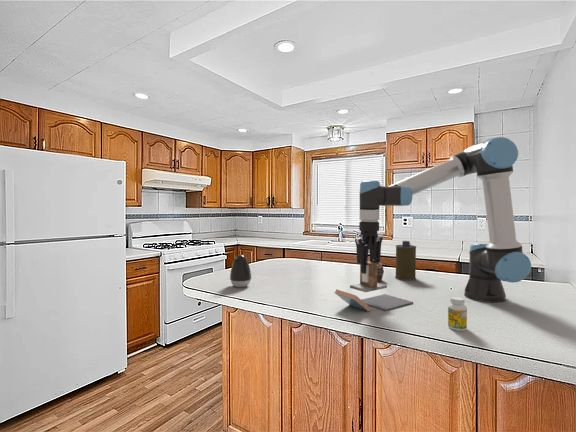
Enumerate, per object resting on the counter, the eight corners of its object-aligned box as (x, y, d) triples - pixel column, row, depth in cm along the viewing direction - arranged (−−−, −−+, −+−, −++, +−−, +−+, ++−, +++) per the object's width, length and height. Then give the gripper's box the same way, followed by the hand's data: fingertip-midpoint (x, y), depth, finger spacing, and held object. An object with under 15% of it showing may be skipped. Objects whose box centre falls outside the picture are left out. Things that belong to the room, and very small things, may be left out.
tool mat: (413, 303, 132) (413, 301, 132) (385, 311, 123) (385, 309, 123) (384, 295, 144) (384, 294, 144) (357, 301, 134) (357, 300, 134)
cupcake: (368, 277, 179) (369, 259, 179) (386, 280, 173) (386, 261, 173) (361, 280, 171) (361, 261, 171) (379, 283, 166) (380, 263, 165)
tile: (370, 307, 123) (355, 295, 118) (369, 311, 122) (353, 299, 117) (351, 301, 131) (336, 289, 126) (349, 305, 130) (334, 293, 126)
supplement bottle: (470, 329, 105) (471, 299, 104) (458, 332, 102) (459, 301, 102) (455, 324, 109) (456, 295, 109) (444, 326, 107) (444, 297, 107)
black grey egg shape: (225, 287, 157) (225, 255, 156) (237, 282, 166) (236, 252, 166) (244, 289, 153) (244, 257, 152) (255, 284, 163) (254, 254, 162)
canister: (413, 281, 170) (414, 242, 169) (393, 278, 176) (393, 241, 175) (417, 277, 179) (418, 240, 179) (398, 275, 185) (398, 239, 184)
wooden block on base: (371, 283, 136) (371, 259, 135) (386, 287, 129) (387, 262, 129) (349, 287, 129) (350, 262, 129) (365, 292, 122) (365, 265, 122)
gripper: (375, 220, 136) (375, 276, 136) (347, 221, 127) (346, 281, 127) (390, 220, 129) (389, 280, 130) (361, 221, 120) (361, 285, 121)
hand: (368, 281), depth 129 cm, fingers closed on wooden block on base, 3 cm apart
